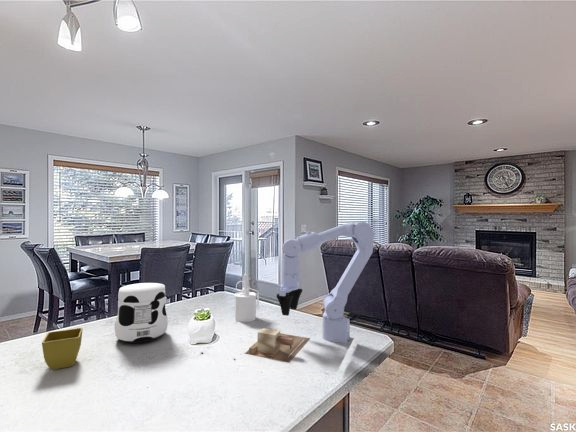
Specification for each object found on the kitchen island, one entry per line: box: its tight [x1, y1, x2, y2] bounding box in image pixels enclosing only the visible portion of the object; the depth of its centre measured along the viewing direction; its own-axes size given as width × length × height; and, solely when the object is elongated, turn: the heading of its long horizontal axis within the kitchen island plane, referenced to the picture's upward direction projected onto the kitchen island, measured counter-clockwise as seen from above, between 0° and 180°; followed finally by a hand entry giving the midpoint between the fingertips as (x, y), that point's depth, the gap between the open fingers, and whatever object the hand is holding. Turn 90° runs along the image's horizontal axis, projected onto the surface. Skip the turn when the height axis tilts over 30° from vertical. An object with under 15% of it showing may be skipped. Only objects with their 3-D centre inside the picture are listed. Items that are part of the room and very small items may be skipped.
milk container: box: [114, 282, 169, 344], centre depth 114 cm, size 17×17×18 cm
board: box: [244, 328, 311, 363], centre depth 105 cm, size 15×20×3 cm
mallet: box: [257, 328, 293, 355], centre depth 100 cm, size 11×4×6 cm, turn 68°
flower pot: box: [41, 327, 83, 371], centre depth 93 cm, size 9×9×9 cm
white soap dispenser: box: [233, 273, 260, 324], centre depth 132 cm, size 10×9×20 cm
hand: (289, 312), depth 112 cm, fingers open, 7 cm apart
